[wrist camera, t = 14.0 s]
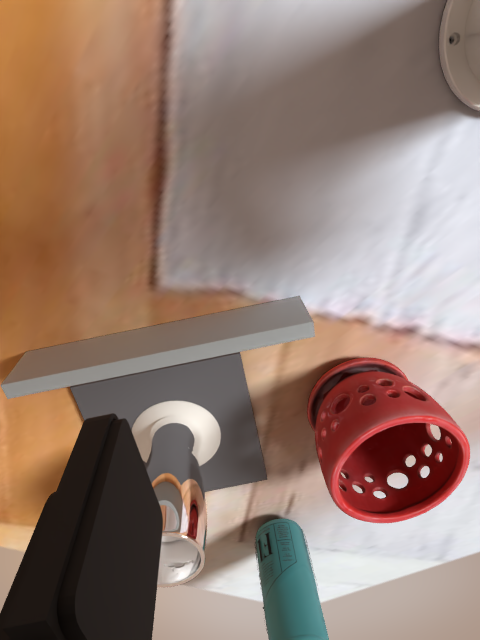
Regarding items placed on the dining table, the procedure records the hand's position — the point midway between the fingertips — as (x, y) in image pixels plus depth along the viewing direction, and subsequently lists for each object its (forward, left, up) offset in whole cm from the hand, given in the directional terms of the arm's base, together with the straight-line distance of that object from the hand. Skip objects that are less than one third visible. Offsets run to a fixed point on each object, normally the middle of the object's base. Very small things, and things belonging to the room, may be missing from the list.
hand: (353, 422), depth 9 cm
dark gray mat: (+12, +25, -32) cm, 43 cm away
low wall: (+10, +12, -32) cm, 36 cm away
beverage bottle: (+3, +43, -32) cm, 54 cm away
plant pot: (-9, +25, -32) cm, 42 cm away
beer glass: (+12, +25, -32) cm, 42 cm away
